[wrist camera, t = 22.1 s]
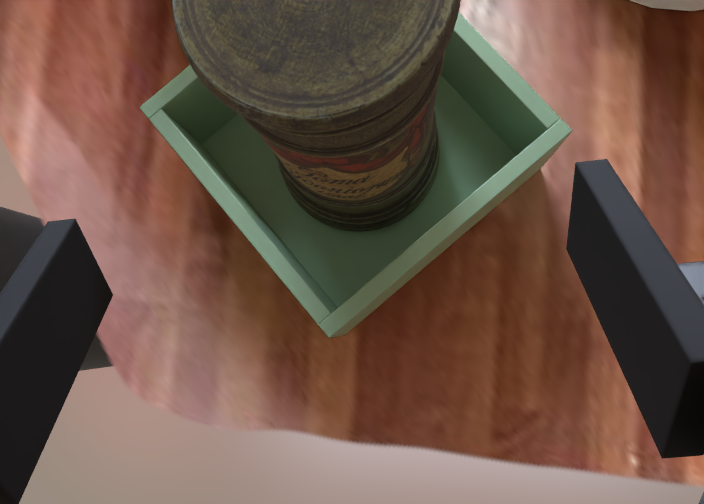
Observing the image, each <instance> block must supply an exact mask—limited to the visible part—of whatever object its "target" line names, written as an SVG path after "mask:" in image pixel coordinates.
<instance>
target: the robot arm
mask: <svg viewBox="0 0 704 504" xmlns="http://www.w3.org/2000/svg"><path fill="white" fill-rule="evenodd" d="M566 249H567V251H568V253H569V256H570V258H571V260H572V262H573V264H574V267H575V269H576V271H577V273H578V275H579V278H580V280H581V282H582V284H583V286H584V288H585V291H586V293H587V295H588V297H589V299H590V302H591V304H592V306H593V308H594V310H595V313H596V315H597V317H598V319H599V321H600V324H601V326H602V328H603V330H604V332H605V334H606V337H607V339H608V341H609V343H610V345H611V348H612V350H613V352H614V354H615V356H616V359H617V361H618V363H619V365H620V367H621V370H622V372H623V374H624V376H625V378H626V380H627V383H628V385H629V387H630V389H631V391H632V394H633V396H634V398H635V400H636V402H637V405H638V407H639V409H640V411H641V413H642V416H643V418H644V420H645V422H646V424H647V426H648V429H649V431H650V433H651V435H652V437H653V440H654V442H655V444H656V446H657V448H658V451H659V453H660V455H661V457H662V458H673V457H686V456H699V455H703V454H704V261H702V262H692V263H682V264H677V263H676V262H675V260H674V259H673V257H672V256H671V254H670V253H669V252H668V250H667V249H666V247H665V246H664V244H663V243H662V241H661V240H660V238H659V237H658V235H657V234H656V232H655V231H654V229H653V228H652V226H651V225H650V223H649V222H648V220H647V219H646V217H645V216H644V214H643V213H642V211H641V210H640V208H639V207H638V205H637V204H636V202H635V201H634V199H633V198H632V196H631V195H630V193H629V192H628V190H627V189H626V187H625V186H624V184H623V183H622V181H621V180H620V178H619V177H618V175H617V174H616V172H615V171H614V169H613V168H612V166H611V165H610V163H609V162H608V160H607V159H604V160H595V161H586V162H577V163H576V164H575V174H574V183H573V192H572V202H571V211H570V220H569V229H568V239H567V248H566ZM112 296H113V294H112V292H111V290H110V288H109V286H108V284H107V282H106V280H105V278H104V276H103V274H102V272H101V270H100V268H99V266H98V264H97V261H96V259H95V257H94V255H93V253H92V251H91V249H90V247H89V245H88V243H87V241H86V239H85V237H84V235H83V233H82V231H81V229H80V227H79V225H78V223H77V221H76V219H69V220H60V221H51V222H48V223H47V224H46V226H45V227H44V229H43V230H42V232H41V233H40V235H39V236H38V238H37V239H36V241H35V242H34V244H33V245H32V247H31V248H30V249H29V251H28V252H27V254H26V255H25V257H24V258H23V260H22V261H21V263H20V264H19V266H18V267H17V269H16V270H15V272H14V273H13V275H12V276H11V278H10V279H9V281H8V282H7V284H6V285H5V287H4V288H3V290H2V291H1V293H0V504H19V501H20V499H21V497H22V495H23V493H24V491H25V488H26V486H27V484H28V482H29V480H30V477H31V475H32V473H33V471H34V469H35V466H36V464H37V462H38V460H39V457H40V455H41V453H42V451H43V449H44V446H45V444H46V442H47V440H48V438H49V435H50V433H51V431H52V429H53V427H54V424H55V422H56V420H57V418H58V415H59V413H60V411H61V409H62V407H63V404H64V402H65V400H66V398H67V396H68V393H69V391H70V389H71V387H72V384H73V382H74V380H75V378H76V376H77V373H78V371H79V369H80V367H81V365H82V362H83V360H84V358H85V356H86V354H87V351H88V349H89V347H90V345H91V343H92V340H93V338H94V336H95V334H96V332H97V329H98V327H99V325H100V323H101V320H102V318H103V316H104V314H105V312H106V309H107V307H108V305H109V303H110V301H111V298H112ZM699 504H704V493H703V495H702V497H701V500H700V502H699Z"/></svg>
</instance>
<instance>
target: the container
mask: <svg viewBox="0 0 704 504" xmlns="http://www.w3.org/2000/svg"><path fill="white" fill-rule="evenodd" d="M460 1H461V0H172V5H173V15H174V21H175V27H176V31H177V34H178V38H179V41H180V44H181V47H182V49H183V51H184V54H185V56H186V58H187V60H188V62H189V64H190V65H191V67H192V69H193V70H194V72H195V74H196V75H197V76H198V78H199V79H200V80H201V82H202V83H203V84H204V85H205V86H206V87H207V89H208V90H209V91H210V92H211V93H212V94H213V95H214V96H215V97H216V98H217V99H219V100H220V101H221V102H222V103H223V104H225V105H226V106H227V107H229V108H230V109H232V110H234V111H235V112H237V113H238V114H240V115H242V117H243V118H244V119H245V120H246V122H247V123H248V124H249V125H250V126H251V127H252V128H253V129H254V130H255V131H257V132H258V133H259V134H260V135H261V136H262V138H263V139H264V140H265V142H266V143H267V144H268V145H269V146H270V148H271V149H272V150H273V153H274V156H275V158H276V160H277V163H278V167H279V170H280V172H281V175H282V177H283V179H284V182H285V184H286V186H287V188H288V190H289V192H290V193H291V195H292V197H293V198H294V199H295V201H296V202H297V203H298V204H299V205H300V206H301V207H302V208H303V209H304V210H305V211H306V212H307V213H308V214H309V215H311V216H312V217H313V218H315V219H316V220H318V221H320V222H322V223H324V224H326V225H328V226H331V227H334V228H337V229H341V230H347V231H372V230H377V229H381V228H384V227H387V226H389V225H392V224H394V223H396V222H398V221H400V220H401V219H403V218H404V217H406V216H407V215H409V214H410V213H411V212H412V211H413V210H414V209H416V208H417V207H418V205H419V204H420V203H421V202H422V201H423V199H424V198H425V197H426V195H427V194H428V192H429V190H430V189H431V187H432V185H433V182H434V180H435V177H436V174H437V170H438V164H439V153H440V150H439V134H438V128H437V123H436V115H435V109H434V107H435V99H436V93H437V85H438V81H439V79H440V76H441V72H442V68H443V63H444V57H445V50H446V47H447V45H448V43H449V41H450V38H451V36H452V33H453V31H454V27H455V24H456V21H457V17H458V12H459V8H460Z"/></svg>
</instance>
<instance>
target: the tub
mask: <svg viewBox="0 0 704 504" xmlns="http://www.w3.org/2000/svg"><path fill="white" fill-rule="evenodd" d="M140 109H141V110H142V112H143V113H144V114H145V115H146V117H147V118H148V119H149V120H150V121H151V123H152V124H153V125H154V126H155V127H156V129H157V130H158V131H159V132H160V134H161V135H162V136H163V137H164V138H165V140H166V141H167V142H168V143H169V145H170V146H171V147H172V148H173V149H174V151H175V152H176V153H177V154H178V155H179V157H180V158H181V159H182V160H183V162H184V163H185V164H186V165H187V166H188V168H189V169H190V170H191V171H192V172H193V174H194V175H195V176H196V177H197V179H198V180H199V181H200V182H201V183H202V185H203V186H204V187H205V188H206V189H207V191H208V192H209V193H210V194H211V196H212V197H213V198H214V199H215V200H216V202H217V203H218V204H219V205H220V207H221V208H222V209H223V210H224V211H225V213H226V214H227V215H228V216H229V217H230V219H231V220H232V221H233V222H234V224H235V225H236V226H237V227H238V228H239V230H240V231H241V232H242V233H243V234H244V236H245V237H246V238H247V239H248V241H249V242H250V243H251V244H252V245H253V247H254V248H255V249H256V250H257V252H258V253H259V254H260V255H261V256H262V258H263V259H264V260H265V261H266V262H267V264H268V265H269V266H270V267H271V269H272V270H273V271H274V272H275V273H276V275H277V276H278V277H279V278H280V279H281V281H282V282H283V283H284V284H285V286H286V287H287V288H288V289H289V290H290V292H291V293H292V294H293V295H294V297H295V298H296V299H297V300H298V301H299V303H300V304H301V305H302V306H303V307H304V309H305V310H306V311H307V312H308V314H309V315H310V316H311V317H312V318H313V320H314V321H315V322H316V323H317V324H319V327H320V328H321V329H322V331H323V332H324V333H325V334H326V335H327V337H328V338H332V337H339V336H344V335H346V334H347V333H348V332H349V331H351V330H352V329H353V328H354V327H355V326H356V325H358V324H359V323H360V322H361V321H362V320H363V319H365V318H366V317H367V316H368V315H369V314H371V313H372V312H373V311H374V310H375V309H376V308H378V307H379V306H380V305H381V304H382V303H383V302H385V301H386V300H387V299H388V298H389V297H390V296H392V295H393V294H394V293H395V292H396V291H398V290H399V289H400V288H401V287H402V286H403V285H405V284H406V283H407V282H408V281H409V280H410V279H412V278H413V277H414V276H415V275H416V274H417V273H419V272H420V271H421V270H422V269H423V268H425V267H426V266H427V265H428V264H429V263H430V262H432V261H433V260H434V259H435V258H436V257H437V256H439V255H440V254H441V253H442V252H443V251H444V250H446V249H447V248H448V247H449V246H450V245H452V244H453V243H454V242H455V241H456V240H457V239H459V238H460V237H461V236H462V235H463V234H464V233H466V232H467V231H468V230H469V229H470V228H471V227H473V226H474V225H475V224H476V223H477V222H479V221H480V220H481V219H482V218H483V217H484V216H486V215H487V214H488V213H489V212H490V211H491V210H493V209H494V208H495V207H496V206H497V205H499V204H500V203H501V202H502V201H503V200H504V199H506V198H507V197H508V196H509V195H510V194H511V193H513V192H514V191H515V190H516V189H517V188H518V187H520V186H521V185H522V184H523V183H524V182H526V181H527V180H528V179H529V178H530V177H531V176H533V175H534V174H535V173H536V172H537V171H538V170H540V169H541V167H542V166H543V165H544V164H545V163H546V162H547V160H548V159H549V158H550V157H551V156H552V155H553V153H554V152H555V151H556V150H557V149H558V147H559V146H560V145H561V144H562V143H563V142H564V140H565V139H566V138H567V137H568V136H569V134H570V133H571V132H572V129H571V128H570V127H569V126H568V125H567V124H566V123H565V122H564V121H563V120H562V119H560V117H559V116H558V115H557V114H556V113H555V112H554V111H553V110H552V109H551V108H550V107H549V106H548V105H547V103H546V102H545V101H544V100H543V99H542V98H541V97H540V96H539V95H538V94H537V93H536V92H535V91H534V90H533V89H532V88H531V87H530V86H529V85H528V84H527V83H526V82H525V81H524V80H523V79H522V77H521V76H520V75H519V74H518V73H517V72H516V71H515V70H514V69H513V68H512V67H511V66H510V65H509V64H508V63H507V62H506V61H505V60H504V59H503V58H502V57H501V56H500V55H499V54H498V52H497V51H496V50H495V49H494V48H493V47H492V46H491V45H490V44H489V43H488V42H487V41H486V40H485V39H484V38H483V37H482V36H481V35H480V34H479V33H478V32H477V31H476V30H475V29H474V28H473V26H472V25H471V24H470V23H469V22H468V21H467V20H466V19H465V18H464V17H463V16H462V15H461V14H460V13H459V12H458V17H457V21H456V24H455V27H454V31H453V33H452V36H451V38H450V41H449V43H448V45H447V47H446V50H445V57H444V63H443V68H442V72H441V76H440V79H439V81H438V85H437V93H436V99H435V107H434V109H435V115H436V123H437V128H438V134H439V150H440V153H439V164H438V170H437V174H436V177H435V180H434V182H433V185H432V187H431V189H430V190H429V192H428V194H427V195H426V197H425V198H424V199H423V201H422V202H421V203H420V204H419V205H418V207H417V208H416V209H414V210H413V211H412V212H411V213H410V214H409V215H407V216H406V217H404V218H403V219H401V220H400V221H398V222H396V223H394V224H392V225H389V226H387V227H384V228H381V229H377V230H372V231H347V230H341V229H337V228H334V227H331V226H328V225H326V224H324V223H322V222H320V221H318V220H316V219H315V218H313V217H312V216H311V215H309V214H308V213H307V212H306V211H305V210H304V209H303V208H302V207H301V206H300V205H299V204H298V203H297V202H296V201H295V199H294V198H293V197H292V195H291V193H290V192H289V190H288V188H287V186H286V184H285V182H284V179H283V177H282V175H281V172H280V170H279V167H278V163H277V160H276V158H275V156H274V153H273V150H272V149H271V148H270V146H269V145H268V144H267V143H266V142H265V140H264V139H263V138H262V136H261V135H260V134H259V133H258V132H257V131H255V130H254V129H253V128H252V127H251V126H250V125H249V124H248V123H247V122H246V120H245V119H244V118H243V117H242V115H240V114H238V113H237V112H235V111H234V110H232V109H230V108H229V107H227V106H226V105H225V104H223V103H222V102H221V101H220V100H219V99H217V98H216V97H215V96H214V95H213V94H212V93H211V92H210V91H209V90H208V89H207V87H206V86H205V85H204V84H203V83H202V82H201V80H200V79H199V78H198V76H197V75H196V74H195V72H194V70H193V69H192V67H191V65H189V66H188V67H187V68H185V69H184V70H183V71H182V72H181V73H180V74H178V75H177V76H176V77H175V78H174V79H172V80H171V81H170V82H169V83H168V84H166V85H165V86H164V87H163V88H162V89H161V90H159V91H158V92H157V93H156V94H155V95H153V96H152V97H151V98H150V99H149V100H148V101H146V102H145V103H144V104H143V105H142V106H140Z"/></svg>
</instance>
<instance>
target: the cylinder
mask: <svg viewBox="0 0 704 504" xmlns="http://www.w3.org/2000/svg"><path fill="white" fill-rule="evenodd" d="M630 1H633V2H636V3H639V4H642V5H645V6H648V7H651V8H660V9H672V10H684V11H697V10H704V0H630Z"/></svg>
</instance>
